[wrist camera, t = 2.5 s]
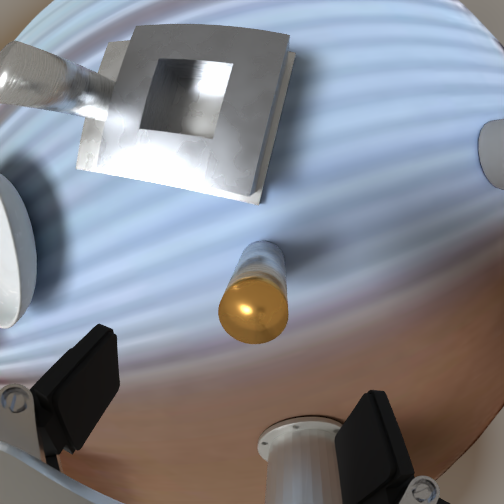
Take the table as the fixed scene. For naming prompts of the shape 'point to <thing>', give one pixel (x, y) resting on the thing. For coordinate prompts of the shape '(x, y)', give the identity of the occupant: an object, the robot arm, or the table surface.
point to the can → (493, 152)
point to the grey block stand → (167, 104)
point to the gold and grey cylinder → (256, 295)
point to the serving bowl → (15, 256)
